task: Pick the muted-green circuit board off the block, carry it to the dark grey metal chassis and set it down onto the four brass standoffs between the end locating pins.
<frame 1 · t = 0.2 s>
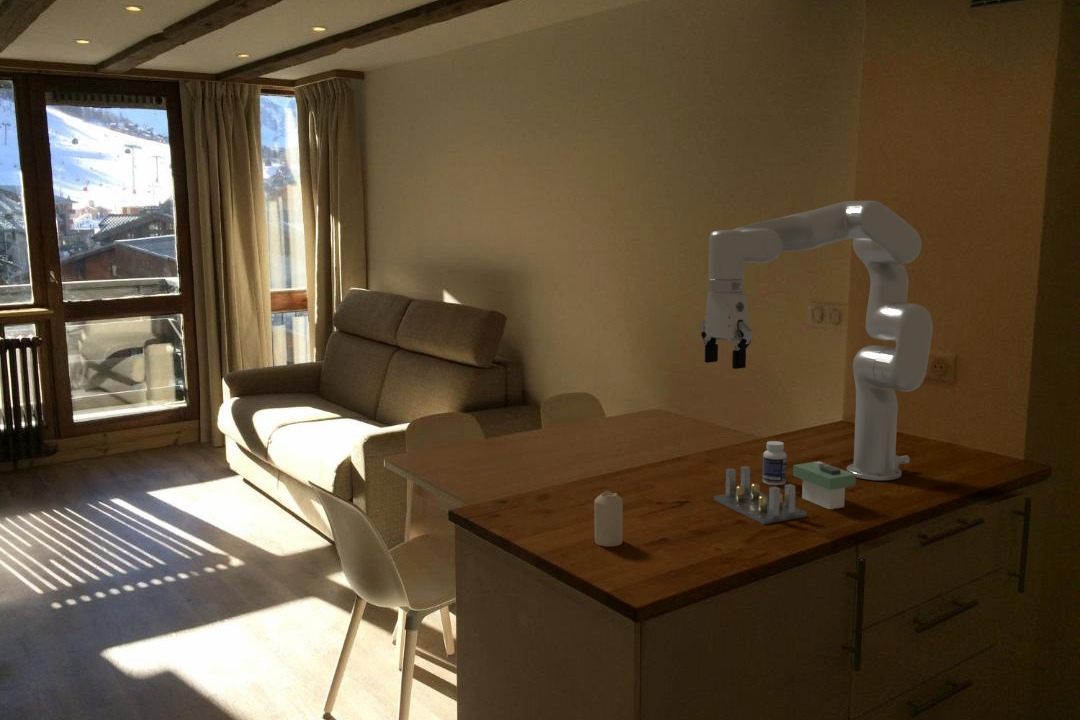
hand: (724, 365, 198), 31 cm above the table, fingers open, 9 cm apart
pill bottle: (774, 483, 215), on the table
board: (823, 480, 199), point 5 cm above the table, touching block
candle: (608, 543, 177), on the table
chassis: (758, 508, 196), on the table
block: (822, 502, 199), on the table
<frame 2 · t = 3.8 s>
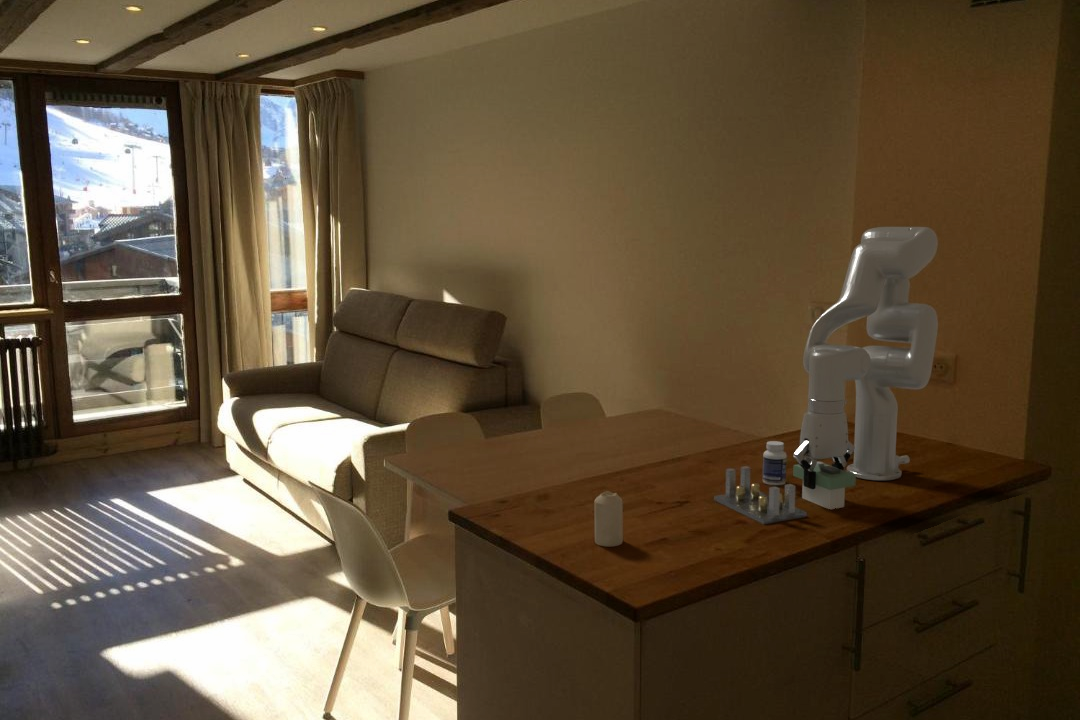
hand: (823, 484, 199), 4 cm above the table, fingers closed on board, 7 cm apart
board: (823, 480, 199), point 5 cm above the table, touching gripper, block
everything else where it was.
when the fingers open (5 cm above the table, at t = 8.9 s): board drops 1 cm, resting on chassis.
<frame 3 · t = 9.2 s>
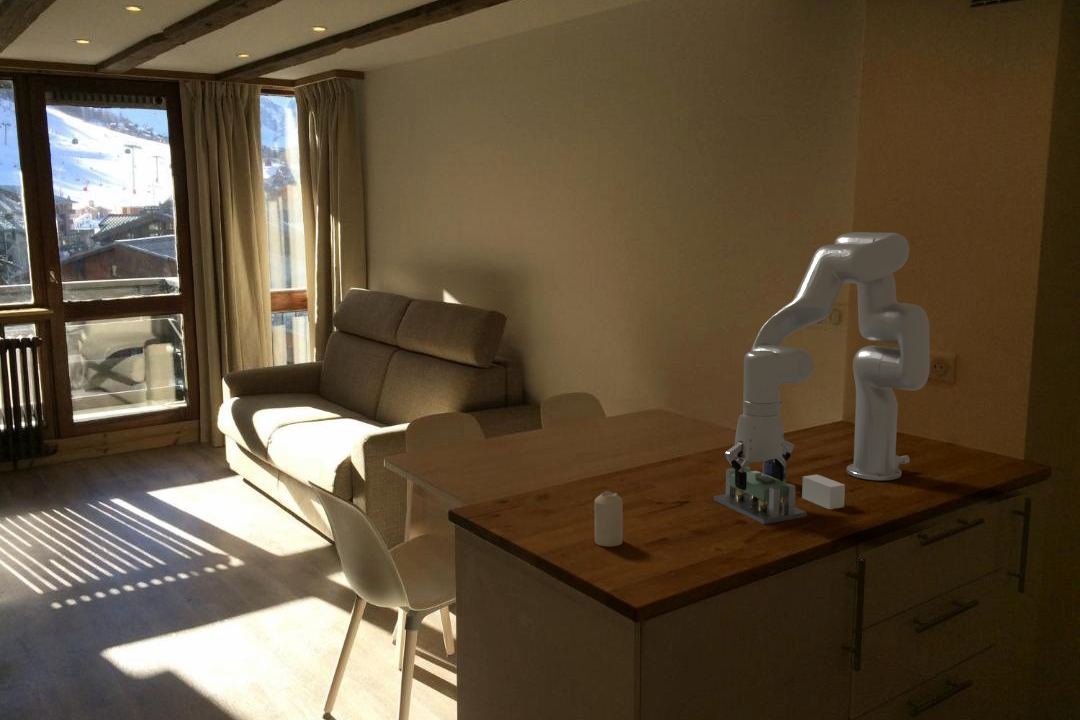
hand: (759, 485, 195), 5 cm above the table, fingers open, 9 cm apart
board: (759, 490, 196), point 4 cm above the table, touching chassis
everything else where it was.
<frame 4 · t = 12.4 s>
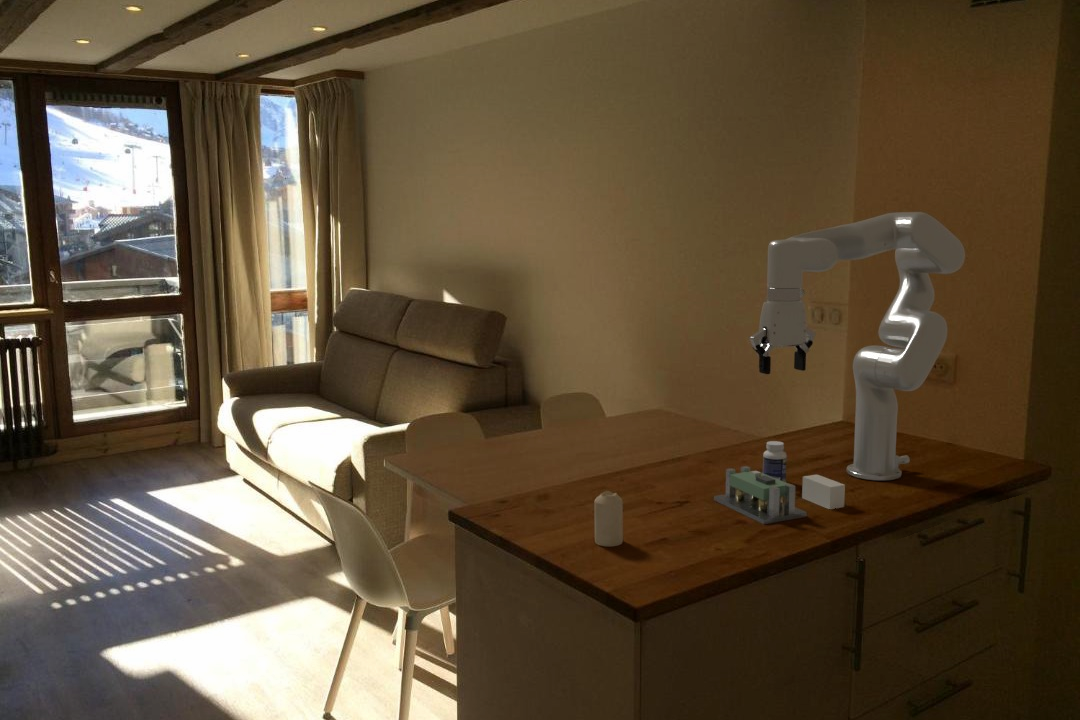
hand: (782, 371, 202), 28 cm above the table, fingers open, 9 cm apart
nothing on the table moved.
at the end: board 0.1 cm off-centre on the chassis, point 4.0 cm above the chassis's base; board tilted 0°; the gripper is holding nothing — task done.
